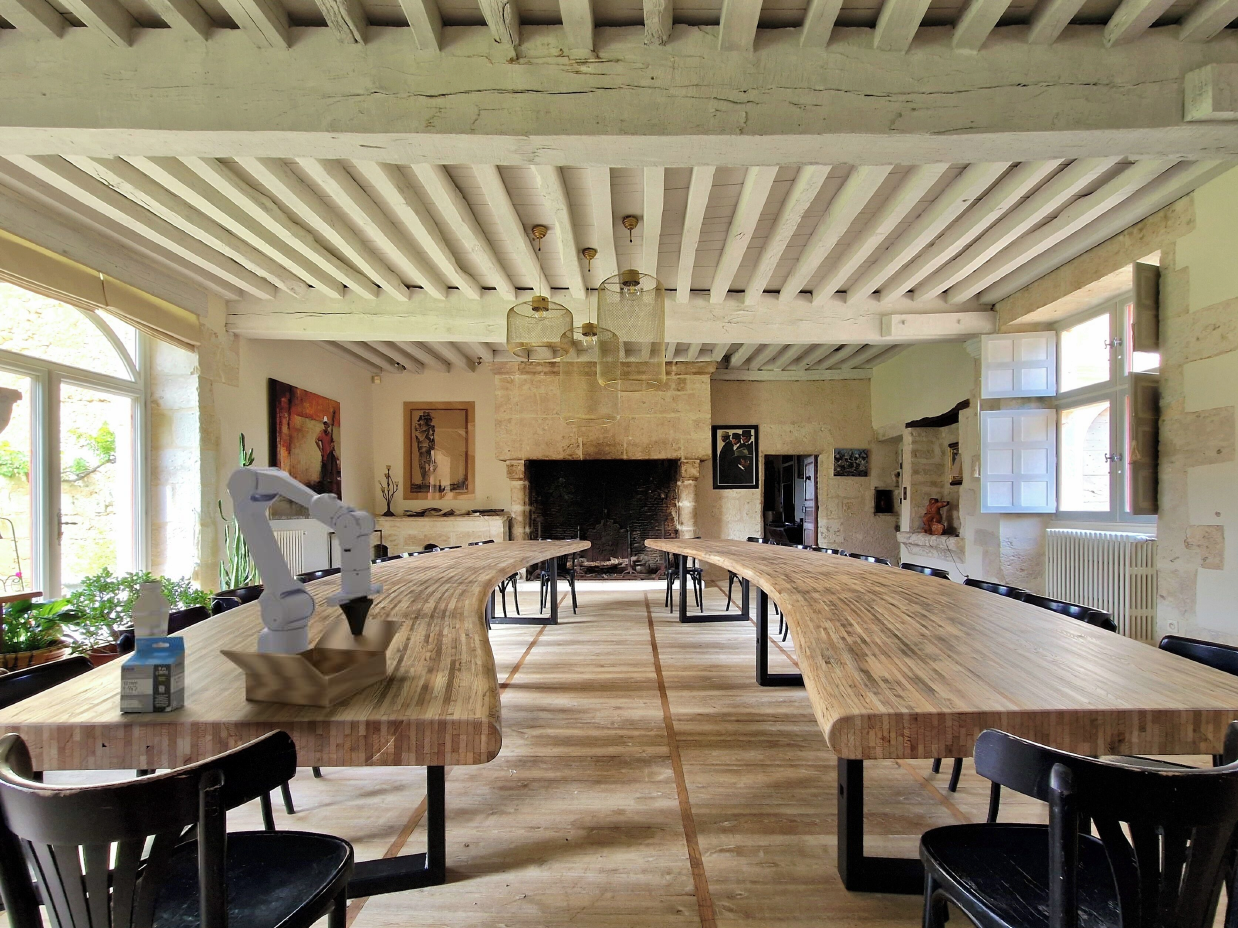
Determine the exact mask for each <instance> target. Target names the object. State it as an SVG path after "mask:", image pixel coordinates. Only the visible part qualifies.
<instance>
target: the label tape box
mask: <svg viewBox="0 0 1238 928" xmlns="http://www.w3.org/2000/svg"><path fill="white" fill-rule="evenodd" d="M184 640H185V639H184V636H179V635H178V636H167V637H152V638H136V649H137V651H136V652H135V653H134V652H133V654H132V655H131V656H130V657H129V658H128V659H127V660H126V661H124V662H123V663H122V664H121V666H120V695H119V696H120V700H119V701H120V702H119V705H120V706H119V713H120V712H141V713H154V712H153V711H163V712H172V711H175V710H176V708H177V709H179V708H180V707H179V706H181V707H182V706H184V705H185V696H186V695H185V692H186V691H185V690H186V689H185V688H186V687H185V685H186V684H185V681H186V679H185V678H186V677H185V676H186V675H185V671H186V670H185V669H186V666H185V660H186V657H185V656H186V651H185V650H186V648H185V641H184ZM159 642H162V643H163V644H164V643H167V644H168V646H167V647H153V644H158V643H159ZM178 707H179V708H178ZM174 709H175V710H174ZM171 710H172V711H171Z"/></svg>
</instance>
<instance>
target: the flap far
mask: <svg viewBox="0 0 1238 928" xmlns="http://www.w3.org/2000/svg"><path fill="white" fill-rule="evenodd" d="M403 622H404V621H402V620H391V619H369V618H366V621H365V624H364V629H363V633H362V635H352V634H351V630H350V627H349V624H348V621H347V618H346V617H344V618H343V617H334V618H333V619H332V621H330V623H329V624H328V626H327V628H326V629H325V631H323V633H322V634H321V636H320V637H319V639H318V641H317V642H316V643H315V644H314V646H313V648H322V649H337V650H353V651H369V652H386V651H387V650H388V648H389V646H390V645H391V644H392V641H393V640H394V637H395V636H396V635H397V634H398V631H399V629H400V628H401V626H402V624H403ZM386 653H387V652H386Z"/></svg>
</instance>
